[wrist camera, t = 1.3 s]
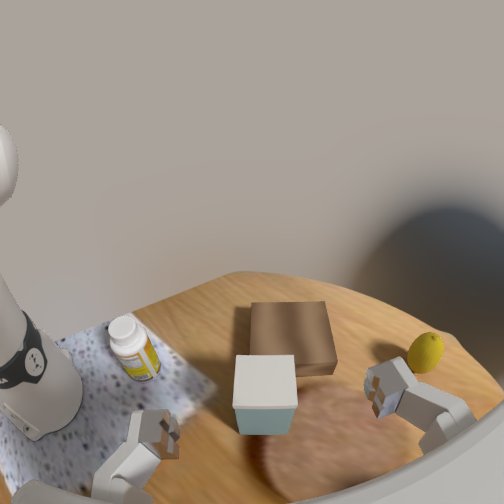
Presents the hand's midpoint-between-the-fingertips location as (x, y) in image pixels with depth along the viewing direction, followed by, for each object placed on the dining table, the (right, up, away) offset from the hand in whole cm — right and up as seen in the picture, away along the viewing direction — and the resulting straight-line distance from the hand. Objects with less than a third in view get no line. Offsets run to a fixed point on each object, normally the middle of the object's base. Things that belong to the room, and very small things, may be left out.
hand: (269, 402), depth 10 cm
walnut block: (+5, -9, +32) cm, 33 cm away
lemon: (+25, -13, +25) cm, 38 cm away
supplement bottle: (-17, -12, +27) cm, 34 cm away
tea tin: (+1, -15, +22) cm, 27 cm away
